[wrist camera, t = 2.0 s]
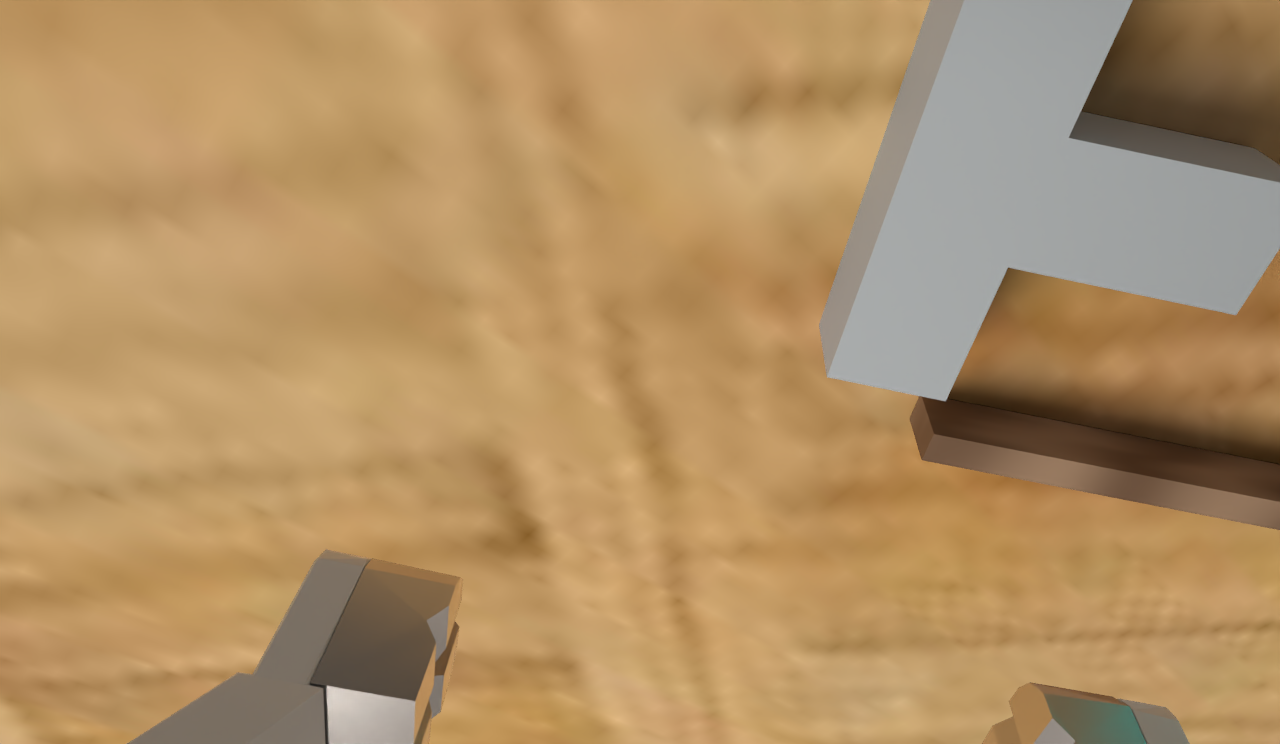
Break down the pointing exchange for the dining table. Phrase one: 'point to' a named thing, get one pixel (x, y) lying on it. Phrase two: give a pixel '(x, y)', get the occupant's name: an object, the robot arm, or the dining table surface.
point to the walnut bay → (1097, 461)
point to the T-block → (1029, 194)
